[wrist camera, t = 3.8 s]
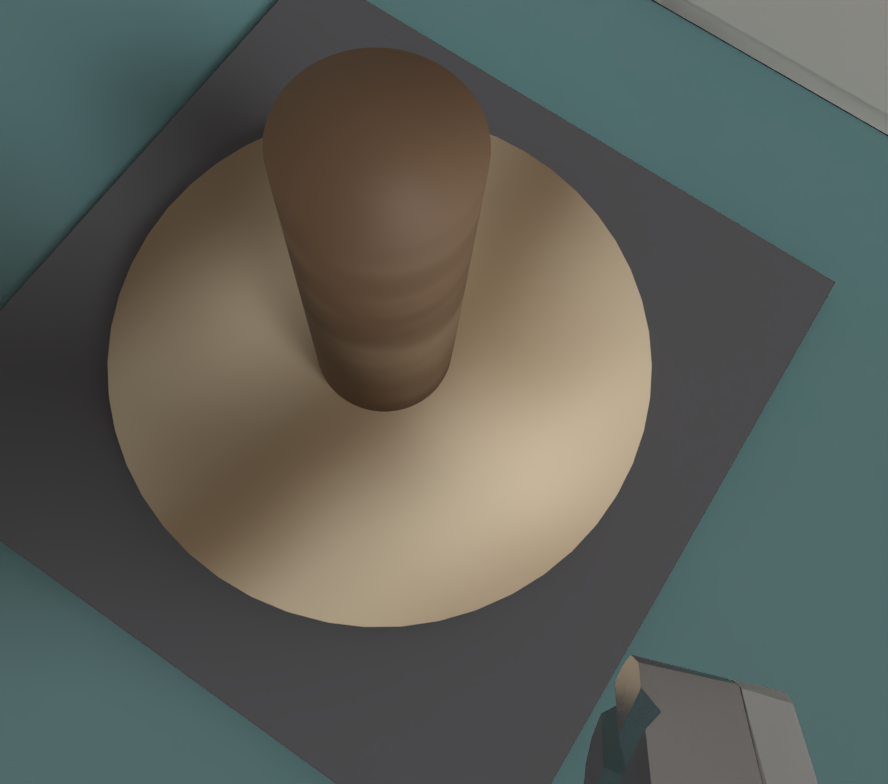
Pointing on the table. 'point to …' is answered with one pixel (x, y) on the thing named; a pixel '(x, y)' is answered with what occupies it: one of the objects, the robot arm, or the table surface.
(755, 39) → the white hollow square box
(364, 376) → the lid
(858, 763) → the table surface
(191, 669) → the mat
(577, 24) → the table surface
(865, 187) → the table surface
